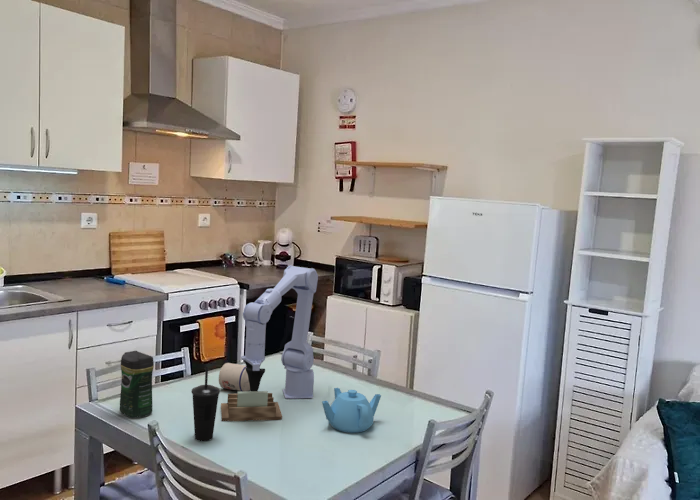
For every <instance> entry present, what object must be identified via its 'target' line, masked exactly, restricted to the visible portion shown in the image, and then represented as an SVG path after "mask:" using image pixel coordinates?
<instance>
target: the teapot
mask: <svg viewBox="0 0 700 500" xmlns="http://www.w3.org/2000/svg"><path fill="white" fill-rule="evenodd" d="M333 391H334V400H333V401H332V403H331V404H330V403H329V401H328V400H324V401H321V403H322V404H321V405H322V407H323V413H324V415H325V418H326V420H328V423H329V424H330V425H331V426H332V427H331V428H333V429H335V430H337V431H340V432H343V433H350V434H354V433H355V434H356V433H362V432H365V431H367V430H368V429H370V427H371V426H372V425H373V424H374V420H375V419H374V417H375V414H376V411H377V410H378V406H379V403H380V400H381V397H382V395H381V394H380V393H379V394H378V393H377V394H374V395H373V397H372V399H371V400H370V402H369V399H368V398H367V397H366V395H365V394H363V393H360V392H358V390H356V389H349V390H348V389H347V391H343V392H342V390H341V388H339V387H334V390H333Z"/></svg>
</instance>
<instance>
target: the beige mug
mask: <svg viewBox="0 0 700 500" xmlns="http://www.w3.org/2000/svg"><path fill="white" fill-rule="evenodd" d="M246 368H247V367H246V364H245V365H243V364H237V363H231V362H225V363H224V364H223V365H222V366H221V368H220V370H219V374H218V385H219V386H220V388H222V389H227V390H231V391H237V392H242V391H251V390H250V383H249V380H248V374H247V372H246Z"/></svg>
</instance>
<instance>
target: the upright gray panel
mask: <svg viewBox="0 0 700 500" xmlns="http://www.w3.org/2000/svg"><path fill="white" fill-rule="evenodd" d="M268 393H269V392H268V391H267V390H258V391H251V390H249V391H237V393H236V394H237V407H267V402H268Z"/></svg>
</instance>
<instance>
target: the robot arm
mask: <svg viewBox="0 0 700 500" xmlns="http://www.w3.org/2000/svg"><path fill="white" fill-rule="evenodd" d="M317 272H318V271H316V269H315V268H313V267H311V268H308V267H303V266H301V267H300V266H294V265H288V266H287V267H286V268H285V269H284V270H283V275H282V278H281V279H280V280H278V282H277V283H276V285H275V286H274V287H273V288H272V287H271V288H267V289H266V290H265V291H264V292H263V293H262V294H260V296H259V297H258V298H257V299H256V300H255V301H254V302H249V303H247V304H246V305H245V307H244V308H243V312H242V318H243V320H244V326H245V328H246V329H245V331H246V332H245V336H246V337H245V350H244V351H245V353H244V355H242V356H240V360H241V361H243V362H244V364H245V366H246V367H247V368H246V372H247V374H248V380H249V383H250V390H249V391H259V389H260V385H261V382H262V378H263V376H264V374H265V372H266V369H265V368H261V365H262V364H263V362H264V361H266V360H265V359H266V356H265V352H266V351H265V349H266V331H267V330H266V328H267V323H268V322H269V320H270V319H271V315H272V314H273V311H274V310H276V308H277V307H278V306H279V305H280V303H281V302H282V296H284V295H285V294H287V292H289V291H290V290H291V289H293V290H294V291H295V292H296V293H297V297H296V298H297V299H296V307H295V314H294V321H293V328H292V335H291V340H290V341H288V342H287V343H285V344H284V349H283V352H282V353H281V356H280V357H281V364H282V366H283V367H284V369H285V385H284V386H285V387H284V388H283V389H282V394H283V395H284V398H285V400H286V399H289V400H290V399H314V386H315V385H314V382H315V375H314V374H315V373H314V369H312V368H313V365H314V361H315V360H314V348H313V347H312V346H311V345H312V344H310V343H309V342H308V336H309V330H310V329H309V328H310V321H311V314H312V306H313V301H314V300H313V299H314V294H315V293H316V292H317V287H318V281H319V280H318V279H319V275H318V273H317Z"/></svg>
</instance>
